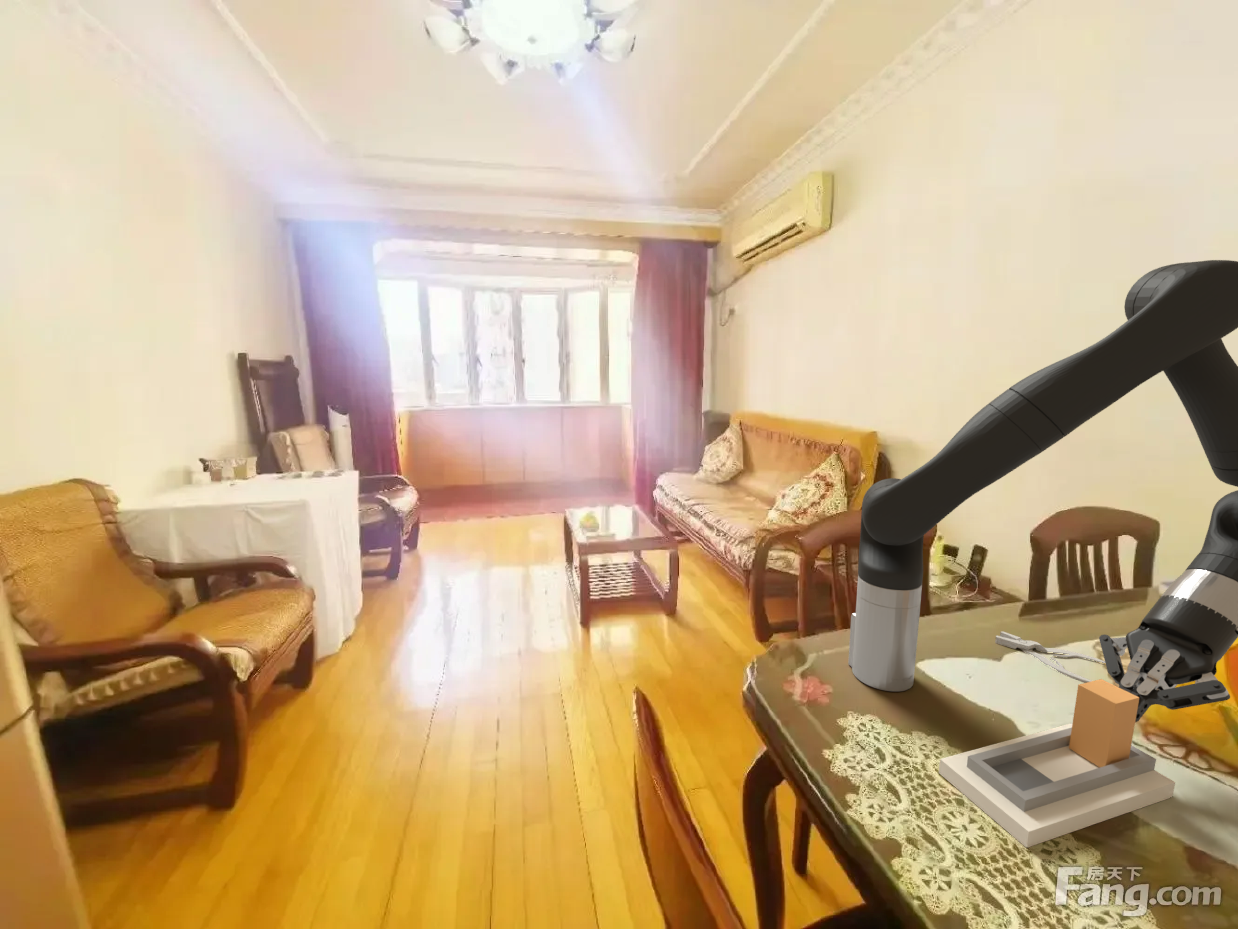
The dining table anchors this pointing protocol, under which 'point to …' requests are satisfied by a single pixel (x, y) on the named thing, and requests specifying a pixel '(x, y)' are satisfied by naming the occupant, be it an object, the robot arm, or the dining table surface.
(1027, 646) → the pliers
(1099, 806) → the switch board
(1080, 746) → the switch tab
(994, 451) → the robot arm
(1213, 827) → the dining table surface
